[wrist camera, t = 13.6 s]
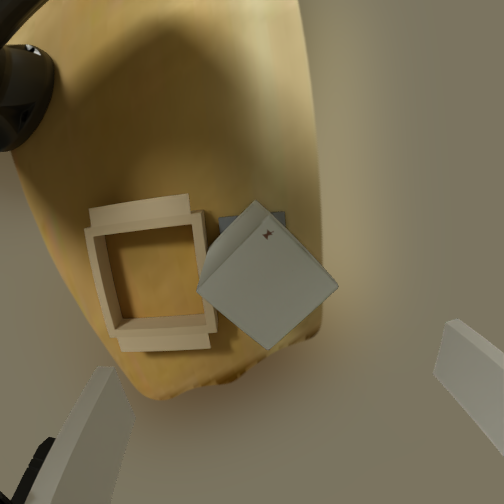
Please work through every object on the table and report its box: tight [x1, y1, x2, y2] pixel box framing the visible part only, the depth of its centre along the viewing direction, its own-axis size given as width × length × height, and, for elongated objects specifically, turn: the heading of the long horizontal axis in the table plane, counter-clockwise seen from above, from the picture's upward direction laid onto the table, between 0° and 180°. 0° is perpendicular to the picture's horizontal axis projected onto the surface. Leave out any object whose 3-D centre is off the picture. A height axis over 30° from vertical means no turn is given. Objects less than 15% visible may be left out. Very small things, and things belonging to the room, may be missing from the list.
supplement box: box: [196, 200, 338, 350], centre depth 26 cm, size 7×7×13 cm
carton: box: [84, 193, 218, 352], centre depth 31 cm, size 13×17×3 cm
